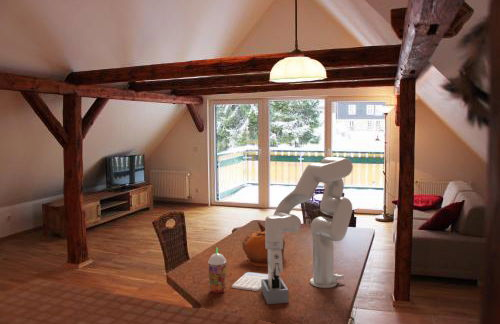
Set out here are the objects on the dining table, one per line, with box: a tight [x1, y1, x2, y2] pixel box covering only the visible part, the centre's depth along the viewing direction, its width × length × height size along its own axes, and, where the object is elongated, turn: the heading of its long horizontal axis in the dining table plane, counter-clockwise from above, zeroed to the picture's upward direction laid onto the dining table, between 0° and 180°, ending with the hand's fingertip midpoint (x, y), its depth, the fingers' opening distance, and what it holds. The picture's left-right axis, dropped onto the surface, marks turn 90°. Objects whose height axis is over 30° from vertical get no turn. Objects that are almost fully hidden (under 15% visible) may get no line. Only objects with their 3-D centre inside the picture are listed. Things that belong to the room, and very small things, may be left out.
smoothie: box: [207, 247, 227, 294], centre depth 176 cm, size 8×8×20 cm
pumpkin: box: [241, 220, 287, 268], centre depth 220 cm, size 22×25×23 cm
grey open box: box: [261, 278, 290, 305], centre depth 169 cm, size 9×14×6 cm, turn 8°
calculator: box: [231, 271, 268, 292], centre depth 187 cm, size 13×20×2 cm, turn 159°
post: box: [267, 264, 282, 290], centre depth 169 cm, size 4×4×12 cm
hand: (274, 285), depth 169 cm, fingers closed on post, 4 cm apart
